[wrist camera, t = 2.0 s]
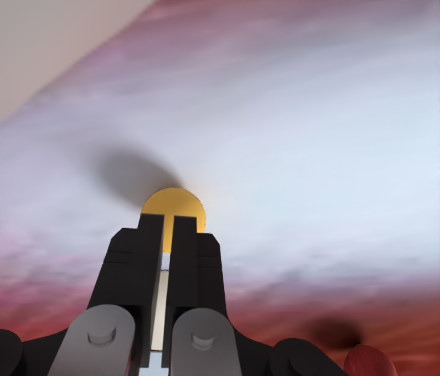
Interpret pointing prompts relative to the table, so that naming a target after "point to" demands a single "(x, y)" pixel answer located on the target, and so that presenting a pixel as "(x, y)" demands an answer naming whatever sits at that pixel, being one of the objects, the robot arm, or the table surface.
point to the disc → (160, 312)
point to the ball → (175, 210)
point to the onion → (368, 362)
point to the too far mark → (154, 366)
